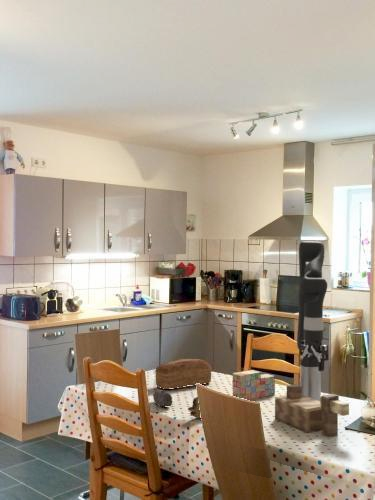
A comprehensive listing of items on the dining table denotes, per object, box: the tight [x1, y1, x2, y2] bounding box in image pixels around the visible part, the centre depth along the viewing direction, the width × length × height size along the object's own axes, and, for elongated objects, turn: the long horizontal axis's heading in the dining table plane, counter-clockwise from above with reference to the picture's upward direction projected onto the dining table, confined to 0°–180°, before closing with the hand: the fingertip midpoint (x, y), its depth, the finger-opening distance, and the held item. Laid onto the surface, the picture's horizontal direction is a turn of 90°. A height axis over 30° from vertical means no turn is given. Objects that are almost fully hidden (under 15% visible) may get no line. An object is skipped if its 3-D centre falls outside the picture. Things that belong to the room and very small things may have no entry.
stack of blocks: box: [232, 369, 276, 401], centre depth 267 cm, size 21×6×12 cm, turn 123°
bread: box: [155, 358, 212, 390], centre depth 289 cm, size 12×31×14 cm, turn 122°
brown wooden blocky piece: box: [274, 393, 340, 438], centre depth 222 cm, size 28×12×15 cm, turn 29°
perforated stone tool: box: [152, 389, 173, 408], centre depth 253 cm, size 15×5×7 cm, turn 25°
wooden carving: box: [187, 396, 200, 419], centre depth 234 cm, size 16×5×10 cm, turn 141°
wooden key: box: [320, 397, 350, 417], centre depth 210 cm, size 12×3×4 cm, turn 29°
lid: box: [274, 383, 321, 412], centre depth 226 cm, size 20×12×6 cm, turn 28°
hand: (313, 368), depth 220 cm, fingers open, 8 cm apart
